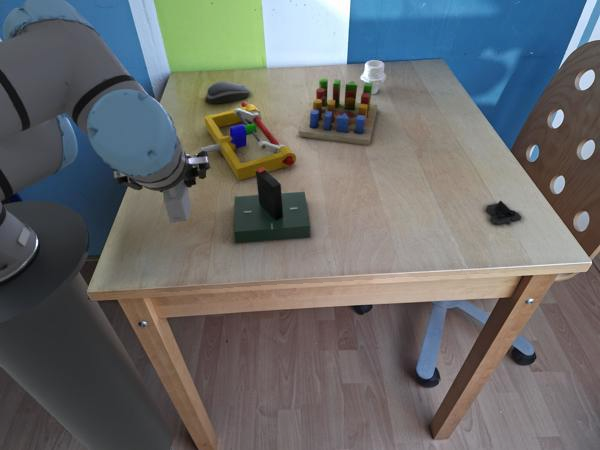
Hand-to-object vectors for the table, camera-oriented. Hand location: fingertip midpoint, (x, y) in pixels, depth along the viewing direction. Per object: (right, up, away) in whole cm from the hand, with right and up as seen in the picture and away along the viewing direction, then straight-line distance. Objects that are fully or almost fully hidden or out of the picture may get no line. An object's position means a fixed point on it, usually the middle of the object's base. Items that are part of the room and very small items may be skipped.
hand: (175, 182), depth 76 cm
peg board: (+33, +18, +33) cm, 50 cm away
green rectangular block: (+17, -7, +7) cm, 20 cm away
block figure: (+62, -6, +7) cm, 63 cm away
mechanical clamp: (+7, +12, +26) cm, 30 cm away
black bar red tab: (+17, -5, +4) cm, 18 cm away
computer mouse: (+2, +29, +44) cm, 53 cm away
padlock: (+1, -5, 0) cm, 5 cm away
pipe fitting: (+43, +30, +45) cm, 69 cm away
